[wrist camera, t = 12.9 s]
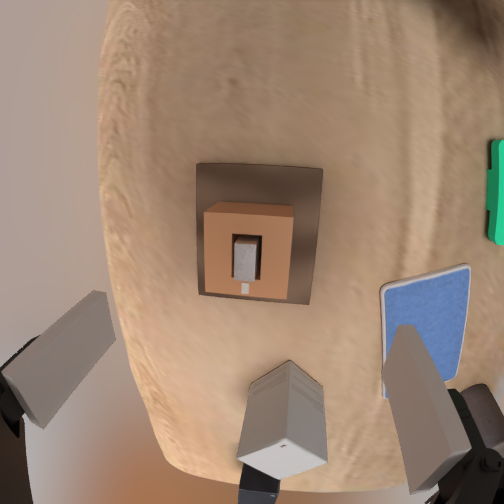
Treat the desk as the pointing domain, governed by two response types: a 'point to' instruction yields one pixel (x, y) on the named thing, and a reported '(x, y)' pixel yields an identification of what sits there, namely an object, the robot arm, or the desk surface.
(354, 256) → the desk surface
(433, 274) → the blue felt tray
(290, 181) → the base
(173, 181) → the desk surface
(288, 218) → the tan square frame
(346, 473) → the desk surface
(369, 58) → the desk surface
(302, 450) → the supplement box
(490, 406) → the pillar candle
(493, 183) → the camera mount
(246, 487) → the small box
